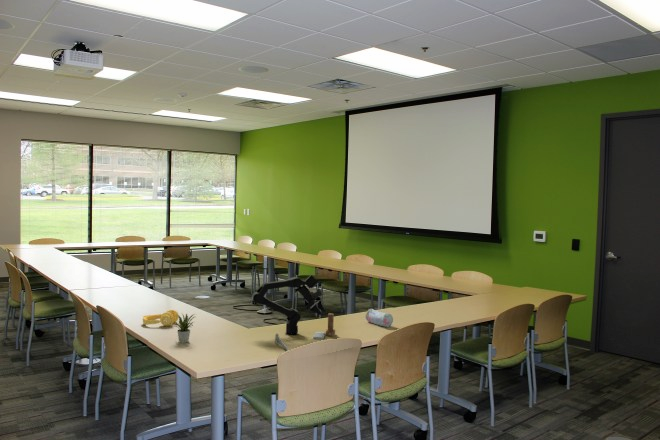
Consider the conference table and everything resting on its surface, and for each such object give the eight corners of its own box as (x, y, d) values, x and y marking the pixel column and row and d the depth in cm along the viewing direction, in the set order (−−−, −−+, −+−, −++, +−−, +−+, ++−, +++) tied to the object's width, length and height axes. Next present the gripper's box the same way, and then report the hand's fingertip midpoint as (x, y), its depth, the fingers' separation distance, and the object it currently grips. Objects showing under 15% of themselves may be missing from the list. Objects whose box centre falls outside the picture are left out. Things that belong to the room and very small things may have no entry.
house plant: (203, 339, 298) (203, 310, 298) (191, 345, 285) (192, 315, 284) (180, 337, 302) (181, 309, 301) (168, 343, 288) (168, 314, 288)
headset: (148, 320, 342) (149, 306, 342) (180, 322, 342) (181, 308, 341) (137, 326, 325) (138, 312, 324) (171, 328, 324) (171, 314, 323)
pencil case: (364, 322, 352) (364, 308, 351) (374, 320, 356) (375, 307, 356) (383, 328, 334) (383, 314, 334) (394, 327, 338) (394, 312, 338)
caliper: (274, 344, 292) (275, 333, 292) (276, 343, 293) (276, 332, 293) (289, 353, 274) (289, 341, 274) (291, 353, 275) (291, 341, 275)
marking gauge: (325, 336, 311) (325, 314, 310) (326, 334, 317) (327, 312, 316) (333, 336, 310) (334, 315, 310) (335, 334, 316) (335, 313, 315)
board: (313, 338, 304) (313, 336, 304) (315, 333, 317) (315, 331, 317) (323, 339, 304) (323, 337, 304) (325, 333, 317) (325, 331, 316)
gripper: (311, 287, 306) (329, 307, 304) (319, 282, 324) (336, 301, 322) (298, 299, 308) (316, 319, 306) (306, 294, 326) (323, 313, 324)
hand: (323, 313), depth 314 cm, fingers open, 9 cm apart
